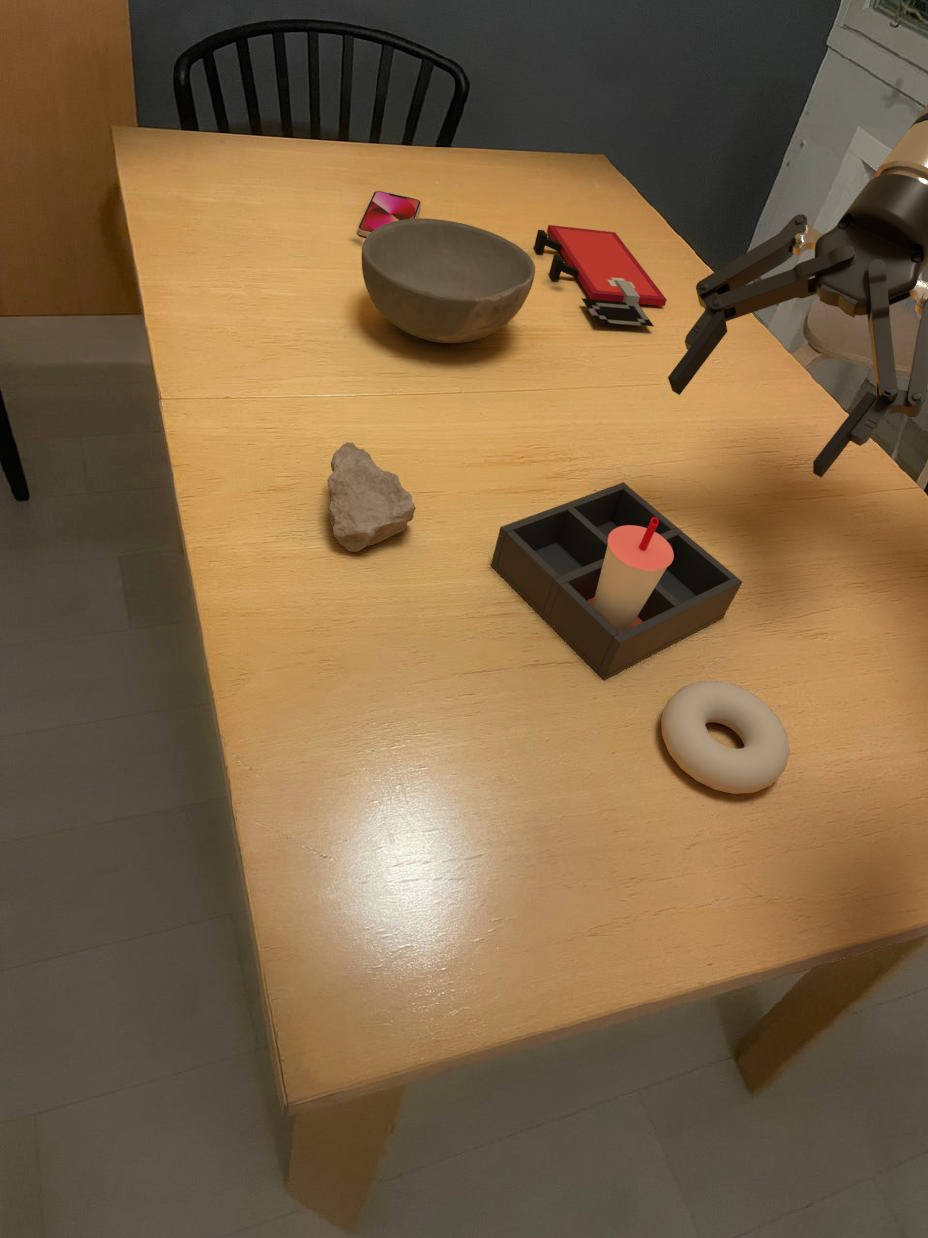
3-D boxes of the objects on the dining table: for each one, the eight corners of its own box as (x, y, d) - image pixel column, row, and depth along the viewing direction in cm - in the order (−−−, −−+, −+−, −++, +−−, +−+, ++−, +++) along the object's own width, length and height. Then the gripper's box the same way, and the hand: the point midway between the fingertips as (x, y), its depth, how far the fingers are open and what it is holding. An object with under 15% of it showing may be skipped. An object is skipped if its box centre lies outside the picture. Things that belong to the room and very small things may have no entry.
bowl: (439, 278, 118) (450, 202, 111) (550, 347, 110) (570, 270, 103) (321, 311, 107) (325, 228, 99) (436, 391, 98) (449, 308, 91)
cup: (636, 654, 73) (686, 548, 65) (574, 637, 74) (616, 528, 65) (640, 611, 77) (688, 505, 69) (582, 595, 77) (622, 487, 69)
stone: (293, 498, 81) (295, 446, 77) (369, 479, 85) (375, 429, 81) (343, 565, 76) (348, 513, 72) (421, 542, 80) (431, 491, 76)
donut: (685, 679, 74) (633, 752, 67) (700, 652, 71) (648, 724, 65) (794, 745, 71) (752, 827, 64) (814, 718, 68) (772, 800, 62)
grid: (723, 618, 80) (743, 581, 76) (603, 680, 72) (620, 643, 69) (609, 518, 87) (623, 481, 84) (490, 565, 79) (500, 526, 76)
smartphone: (356, 229, 122) (374, 189, 133) (355, 236, 123) (373, 196, 134) (408, 240, 123) (422, 199, 133) (407, 247, 123) (421, 206, 134)
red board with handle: (580, 327, 114) (683, 335, 118) (586, 306, 112) (690, 315, 117) (523, 231, 134) (612, 241, 139) (527, 212, 132) (617, 223, 137)
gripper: (1056, 297, 67) (880, 522, 69) (776, 174, 77) (627, 373, 78) (1085, 242, 60) (888, 493, 62) (773, 113, 70) (610, 334, 71)
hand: (742, 427), depth 70 cm, fingers open, 13 cm apart
